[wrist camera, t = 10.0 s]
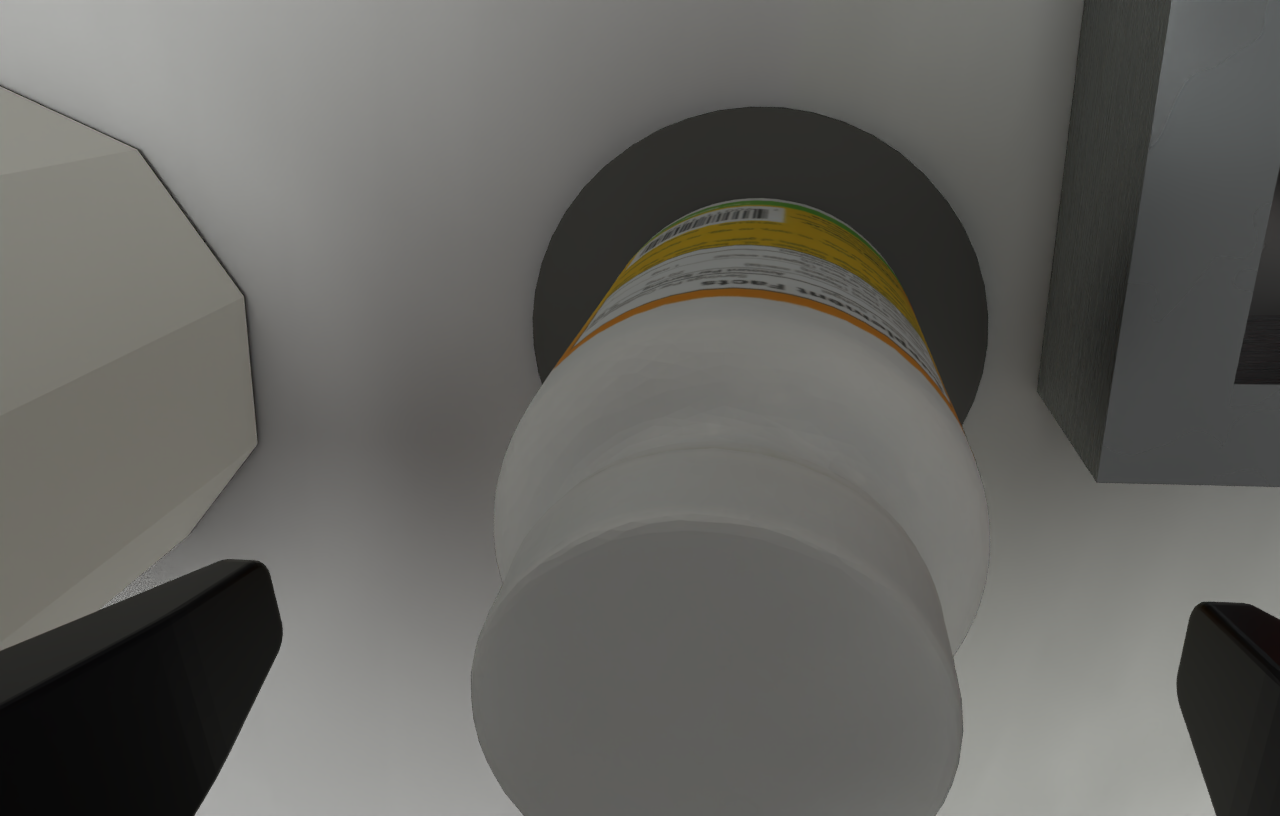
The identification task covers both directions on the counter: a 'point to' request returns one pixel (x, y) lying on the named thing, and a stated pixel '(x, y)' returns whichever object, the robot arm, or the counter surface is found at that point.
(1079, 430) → the grey square tray
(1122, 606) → the counter surface
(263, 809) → the counter surface
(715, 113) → the coaster
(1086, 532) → the counter surface
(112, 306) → the toilet paper
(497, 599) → the supplement bottle
